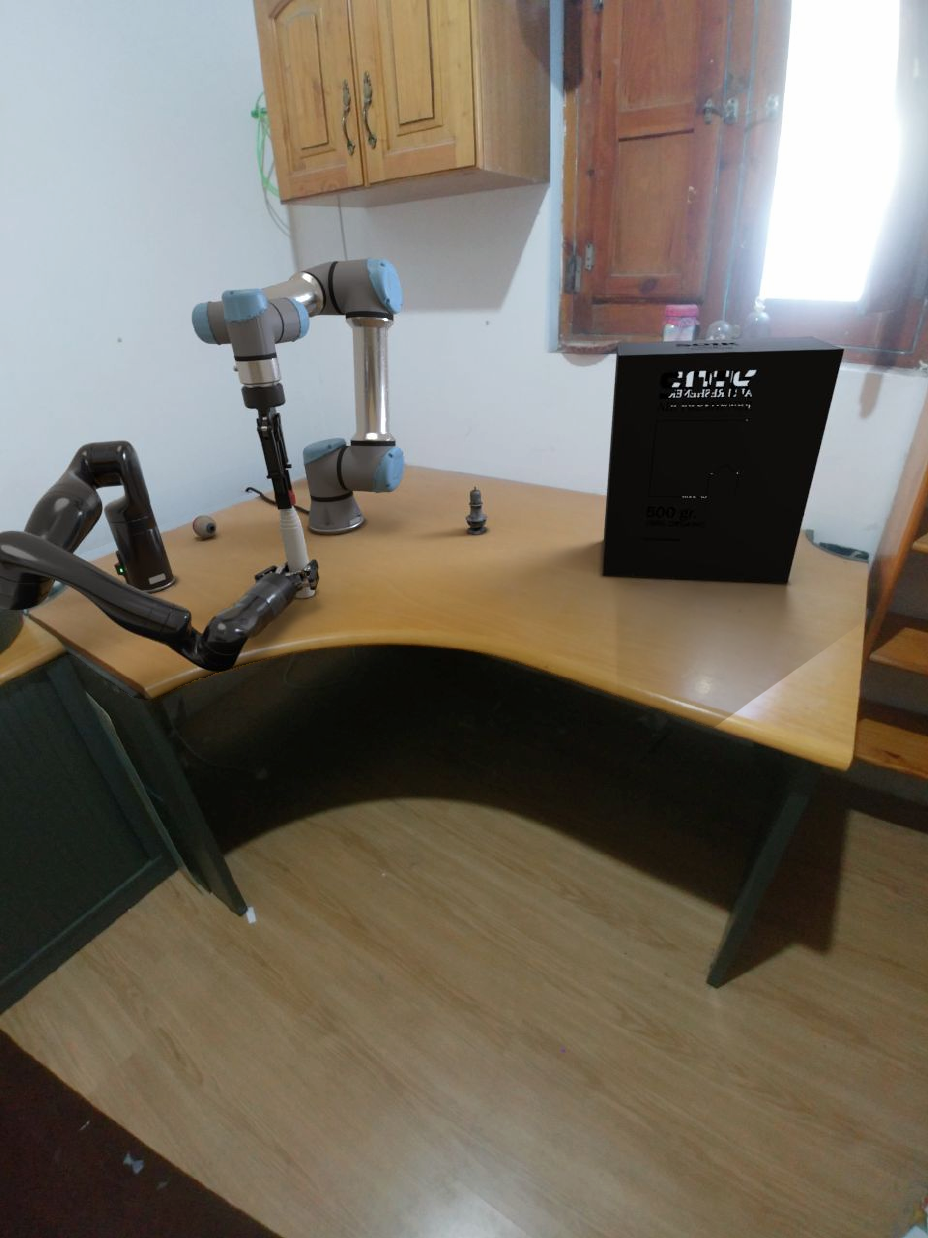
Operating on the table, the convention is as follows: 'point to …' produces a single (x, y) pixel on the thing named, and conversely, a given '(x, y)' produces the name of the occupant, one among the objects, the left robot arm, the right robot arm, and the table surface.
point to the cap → (292, 498)
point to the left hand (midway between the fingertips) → (305, 562)
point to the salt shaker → (476, 514)
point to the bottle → (294, 545)
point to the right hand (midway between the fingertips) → (286, 504)
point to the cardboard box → (714, 456)
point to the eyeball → (204, 526)
